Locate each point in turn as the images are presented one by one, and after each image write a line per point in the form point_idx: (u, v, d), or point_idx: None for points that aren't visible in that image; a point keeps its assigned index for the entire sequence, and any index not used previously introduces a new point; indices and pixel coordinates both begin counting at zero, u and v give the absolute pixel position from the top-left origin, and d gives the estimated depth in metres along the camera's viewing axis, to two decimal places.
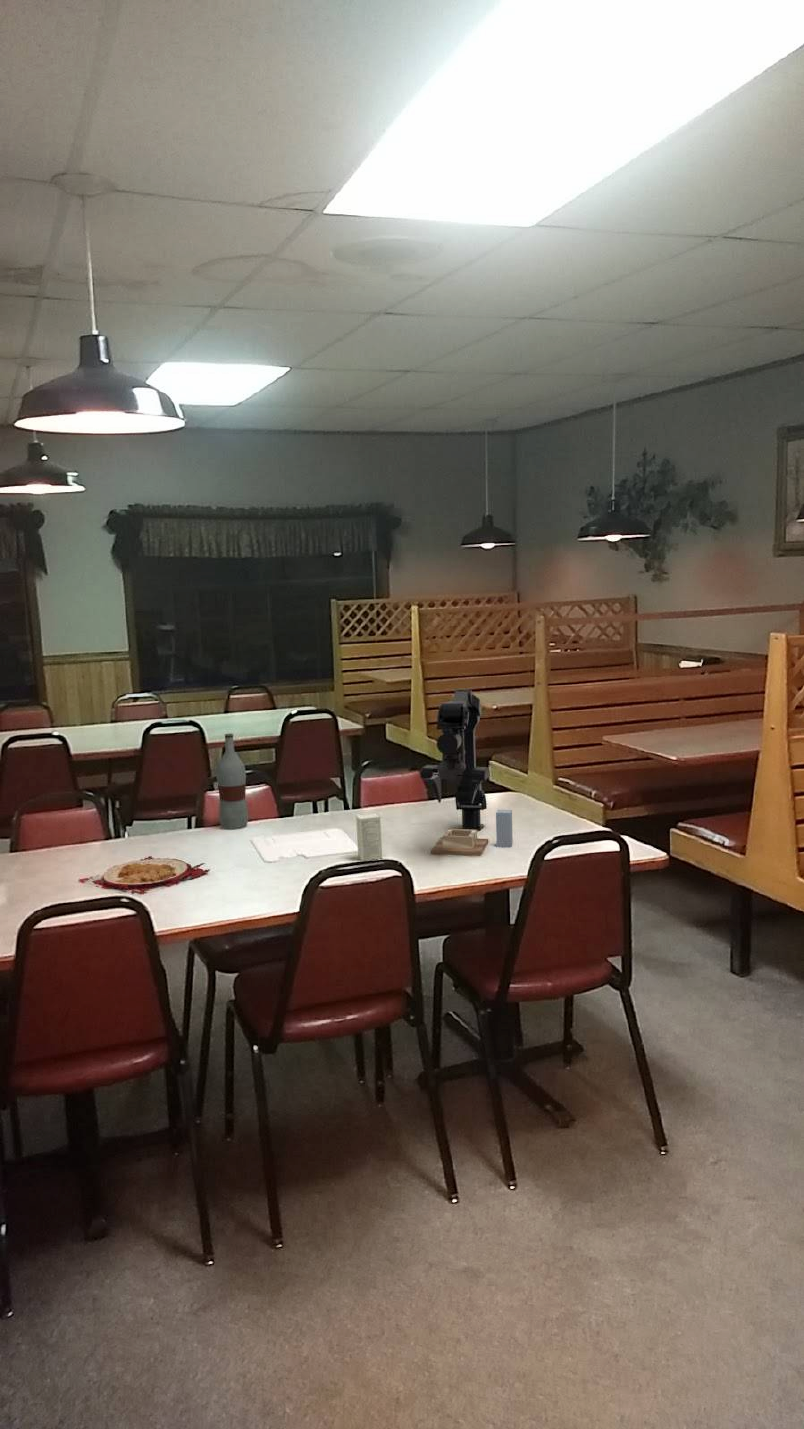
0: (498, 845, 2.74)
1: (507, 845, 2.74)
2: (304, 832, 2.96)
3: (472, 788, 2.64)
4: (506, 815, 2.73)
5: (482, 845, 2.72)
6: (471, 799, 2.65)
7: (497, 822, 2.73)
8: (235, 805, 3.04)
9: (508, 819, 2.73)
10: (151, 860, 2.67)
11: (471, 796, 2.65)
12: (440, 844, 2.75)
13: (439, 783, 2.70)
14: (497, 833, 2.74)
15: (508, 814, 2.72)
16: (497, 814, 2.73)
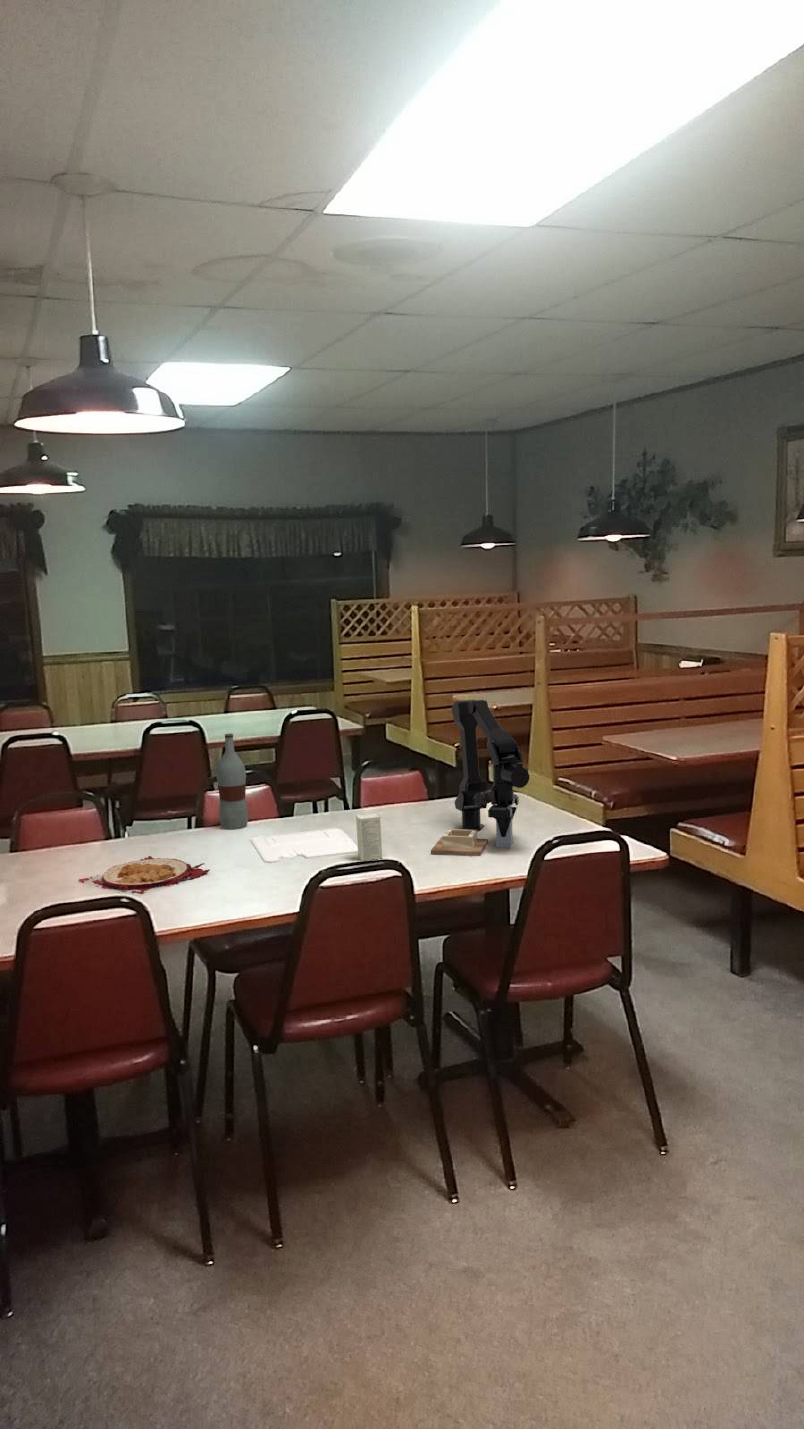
0: (498, 845, 2.74)
1: (507, 845, 2.74)
2: (304, 832, 2.96)
3: None
4: None
5: (482, 845, 2.72)
6: (500, 832, 2.73)
7: None
8: (235, 805, 3.04)
9: None
10: (151, 860, 2.67)
11: None
12: (440, 844, 2.75)
13: None
14: (497, 833, 2.74)
15: None
16: None
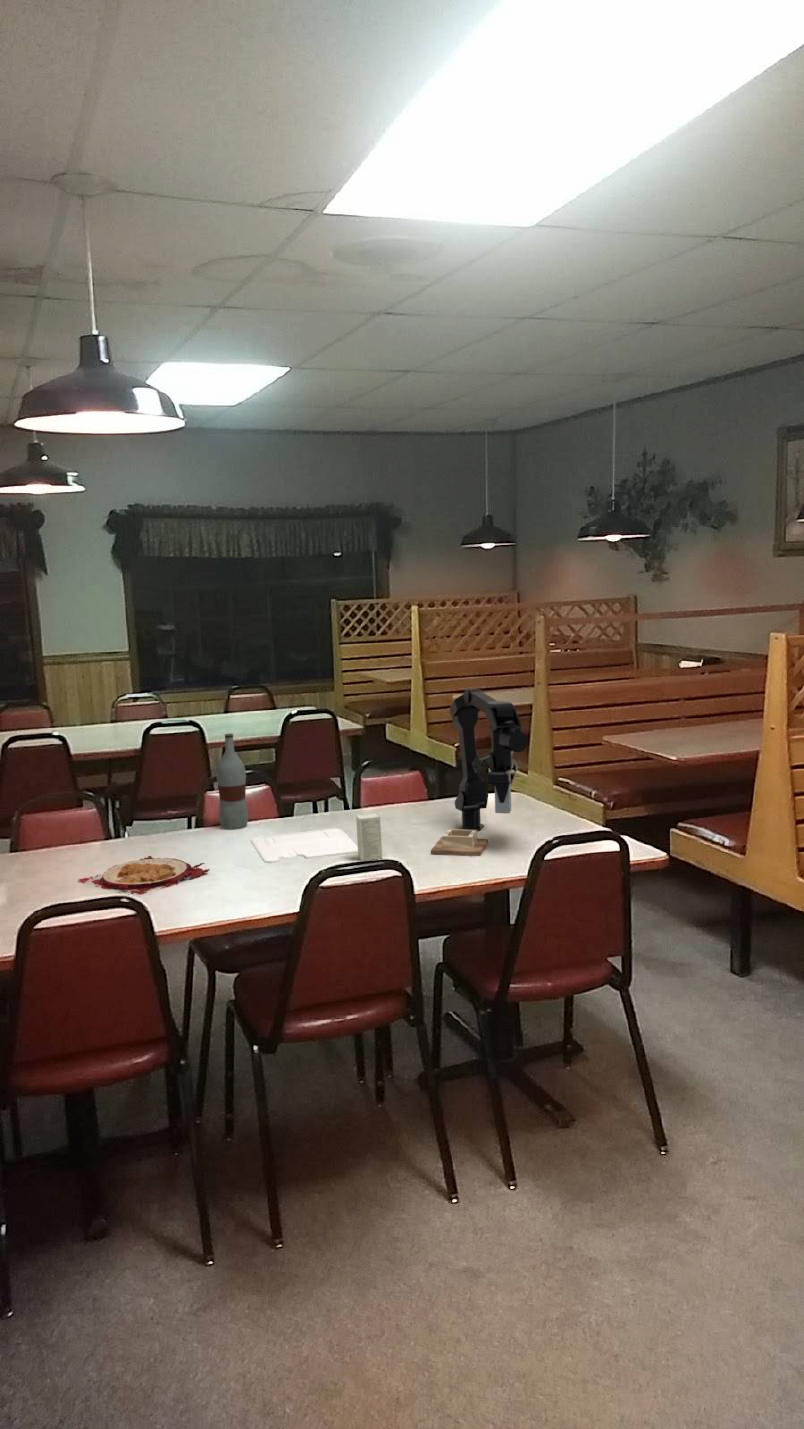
0: (497, 811, 2.73)
1: (506, 811, 2.72)
2: (304, 832, 2.96)
3: None
4: None
5: (482, 845, 2.72)
6: None
7: (495, 788, 2.72)
8: (235, 805, 3.04)
9: None
10: (151, 860, 2.67)
11: None
12: (440, 844, 2.75)
13: None
14: (496, 799, 2.73)
15: None
16: None
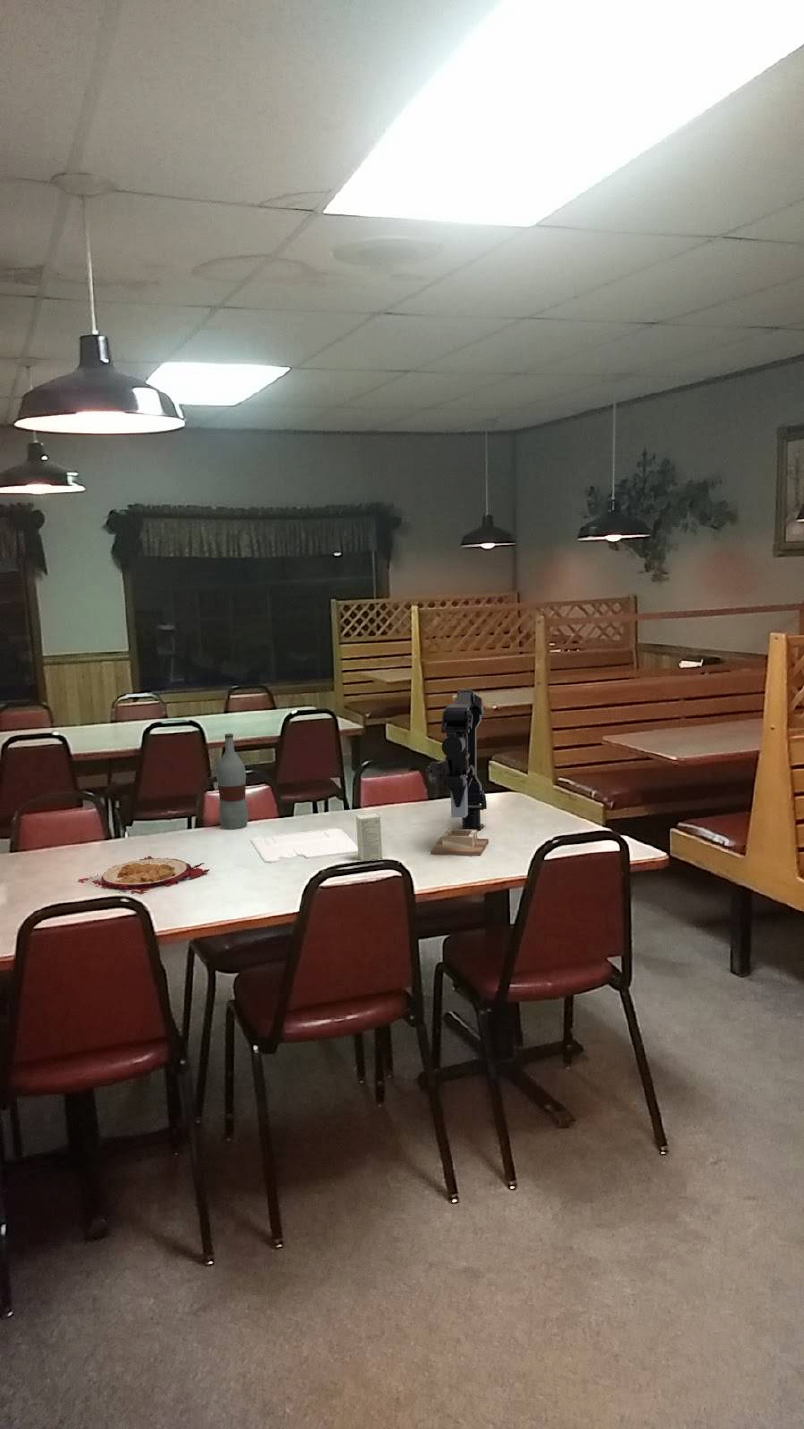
0: (453, 815, 2.71)
1: (462, 815, 2.71)
2: (304, 832, 2.96)
3: None
4: None
5: (482, 845, 2.72)
6: None
7: (451, 792, 2.70)
8: (235, 805, 3.04)
9: None
10: (151, 860, 2.67)
11: None
12: (440, 844, 2.75)
13: None
14: (452, 803, 2.71)
15: None
16: None
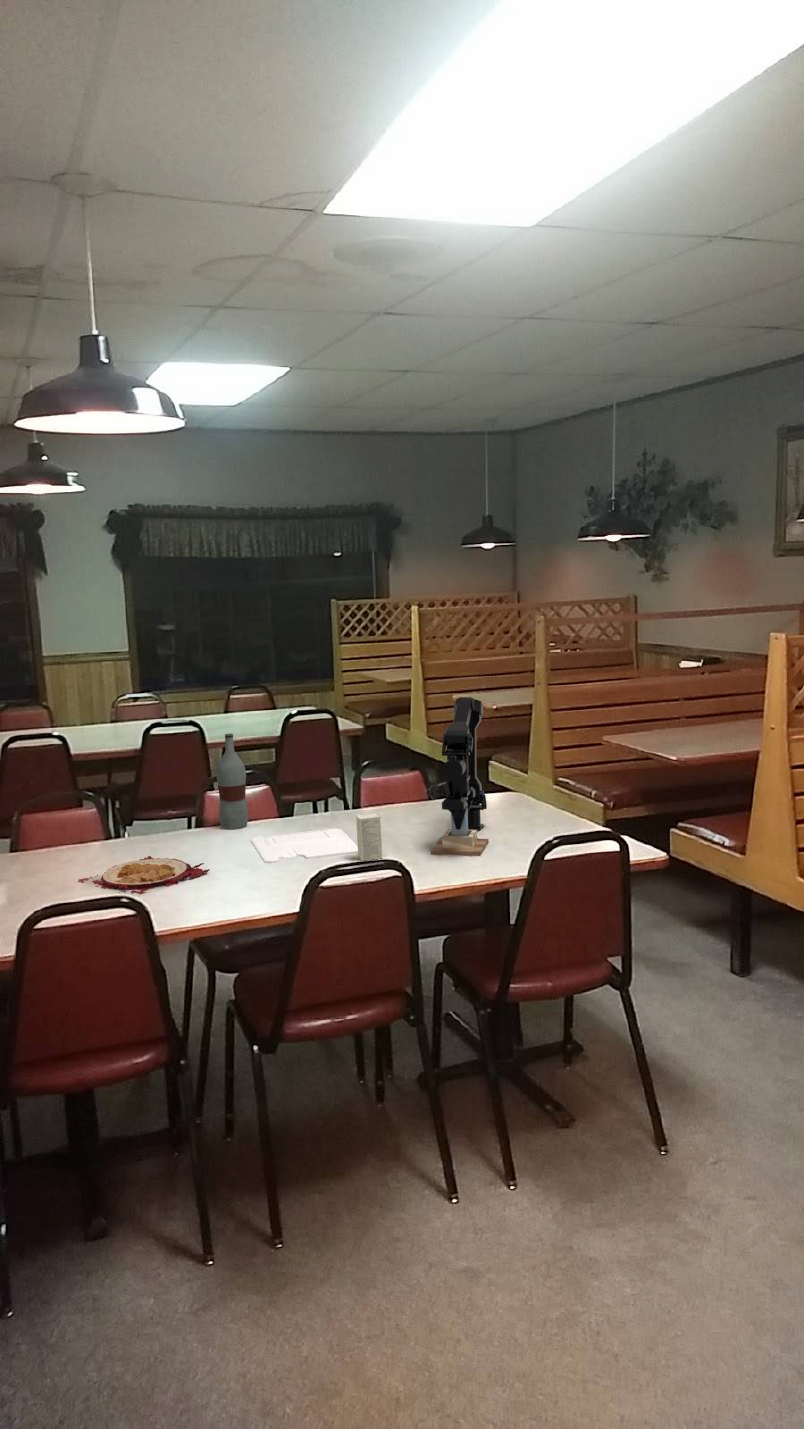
0: None
1: None
2: (304, 832, 2.96)
3: None
4: None
5: (482, 845, 2.72)
6: (455, 824, 2.71)
7: None
8: (235, 805, 3.04)
9: None
10: (151, 860, 2.67)
11: None
12: (440, 844, 2.75)
13: None
14: (452, 825, 2.72)
15: None
16: None
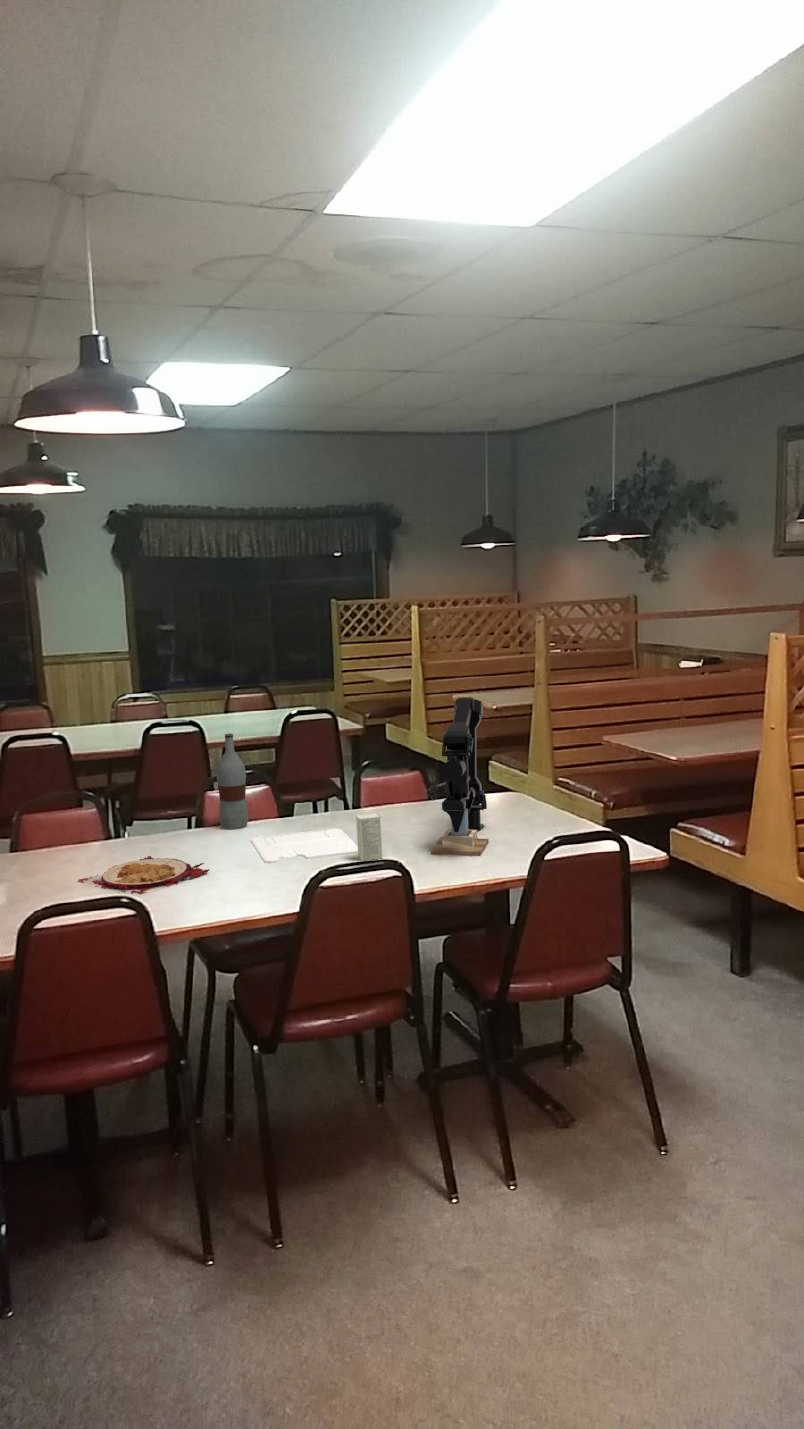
0: None
1: None
2: (304, 832, 2.96)
3: None
4: None
5: (482, 845, 2.72)
6: (453, 827, 2.69)
7: None
8: (235, 805, 3.04)
9: (463, 818, 2.71)
10: (150, 860, 2.67)
11: None
12: (440, 844, 2.75)
13: (465, 806, 2.77)
14: (452, 832, 2.72)
15: None
16: None
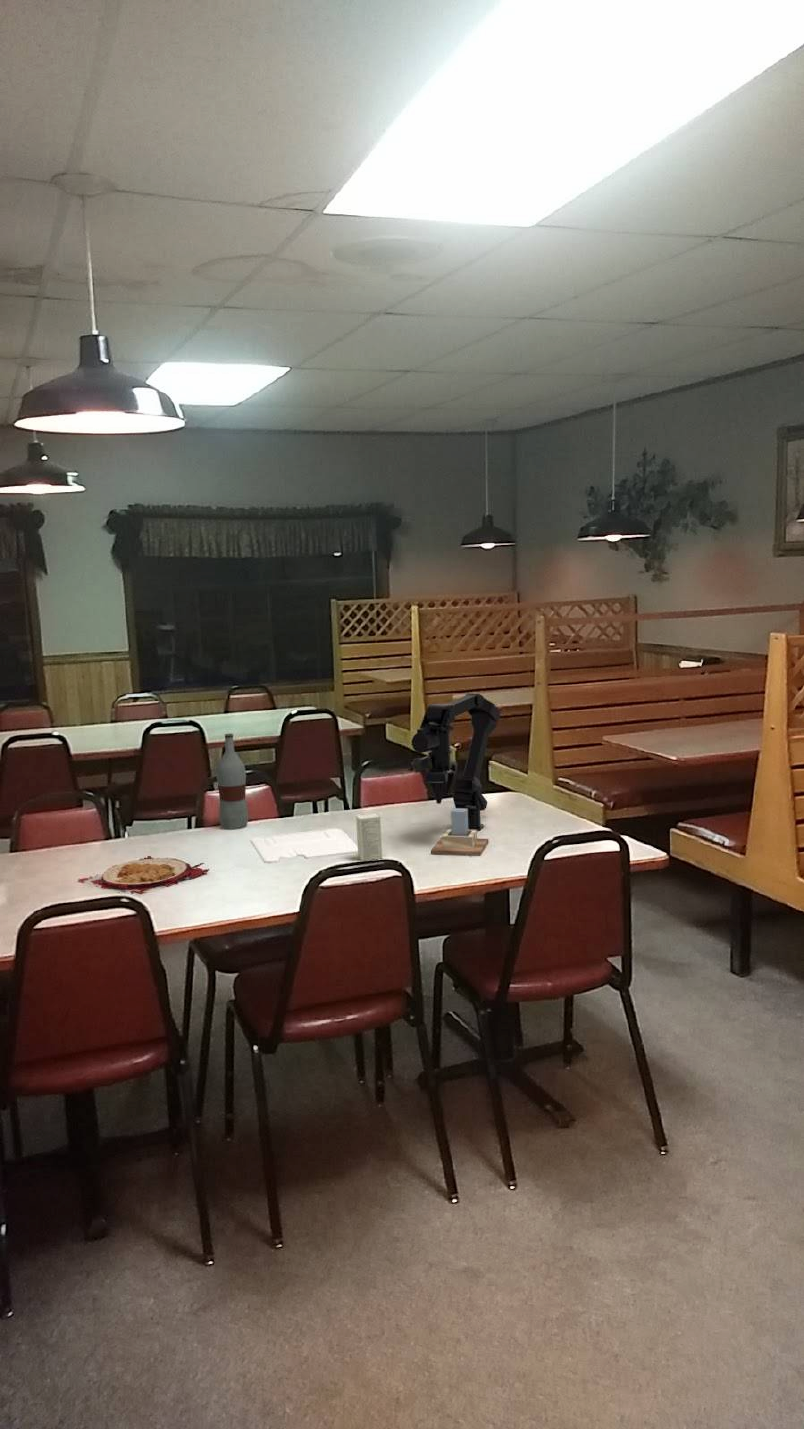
0: None
1: None
2: (304, 832, 2.96)
3: None
4: (461, 814, 2.71)
5: (482, 845, 2.72)
6: (435, 798, 2.78)
7: (452, 821, 2.72)
8: (235, 805, 3.04)
9: (463, 818, 2.71)
10: (150, 860, 2.67)
11: None
12: (440, 844, 2.75)
13: (447, 779, 2.87)
14: (452, 832, 2.72)
15: (463, 813, 2.70)
16: (452, 813, 2.71)
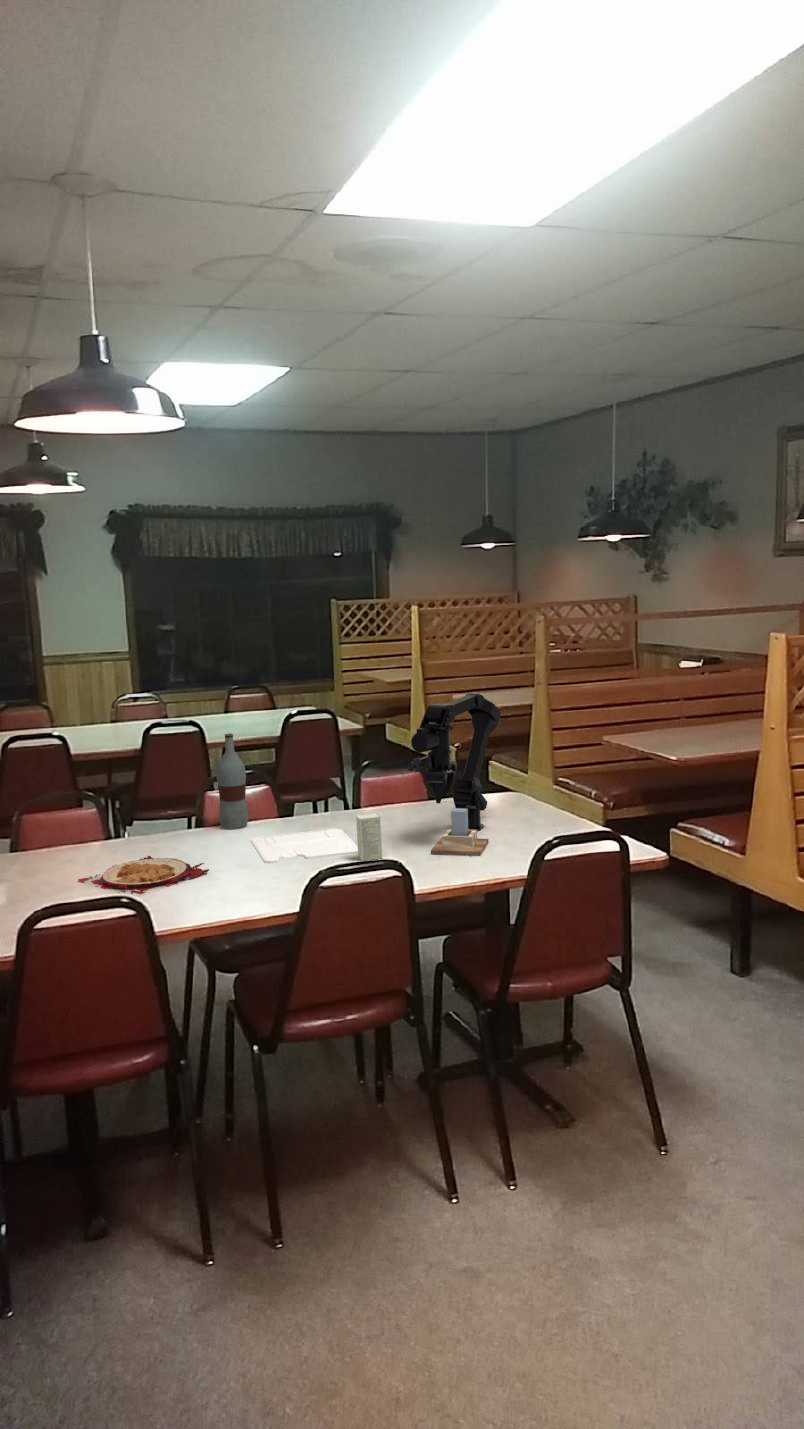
0: None
1: None
2: (304, 832, 2.96)
3: None
4: (461, 814, 2.71)
5: (482, 845, 2.72)
6: (435, 798, 2.78)
7: (452, 821, 2.72)
8: (235, 805, 3.04)
9: (463, 818, 2.71)
10: (150, 860, 2.67)
11: None
12: (440, 844, 2.75)
13: (447, 779, 2.87)
14: (452, 832, 2.72)
15: (463, 813, 2.70)
16: (452, 813, 2.71)
